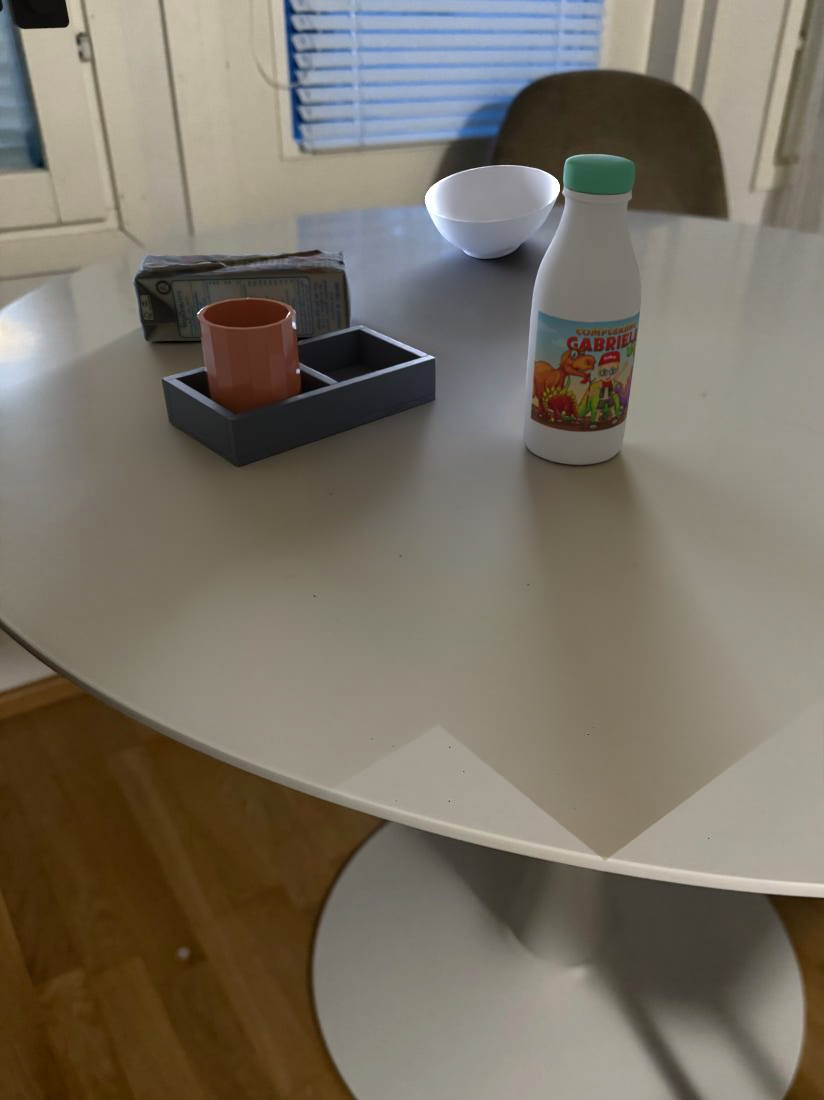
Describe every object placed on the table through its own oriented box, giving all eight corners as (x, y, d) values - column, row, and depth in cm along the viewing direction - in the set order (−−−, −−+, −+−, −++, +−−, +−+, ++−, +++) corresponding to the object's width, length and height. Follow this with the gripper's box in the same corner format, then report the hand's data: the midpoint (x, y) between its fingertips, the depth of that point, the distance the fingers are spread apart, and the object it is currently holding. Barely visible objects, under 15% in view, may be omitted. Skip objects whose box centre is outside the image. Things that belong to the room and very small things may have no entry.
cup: (196, 413, 74) (180, 310, 69) (270, 391, 78) (260, 291, 73) (244, 443, 70) (230, 336, 65) (320, 418, 74) (312, 315, 69)
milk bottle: (501, 439, 74) (516, 154, 62) (572, 415, 78) (599, 143, 66) (571, 477, 69) (601, 177, 57) (643, 449, 73) (685, 164, 61)
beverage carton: (153, 315, 93) (141, 245, 89) (351, 313, 96) (348, 244, 92) (142, 345, 87) (129, 270, 83) (354, 341, 90) (351, 269, 86)
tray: (168, 422, 74) (161, 377, 72) (362, 364, 85) (360, 324, 83) (237, 467, 69) (231, 420, 67) (435, 399, 79) (435, 357, 77)
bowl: (461, 210, 130) (462, 161, 127) (570, 220, 128) (574, 170, 124) (399, 272, 107) (398, 215, 103) (530, 286, 105) (534, 228, 101)
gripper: (-208, -369, 52) (-104, 8, 62) (-97, -419, 42) (5, 37, 53) (-64, -343, 56) (12, 6, 66) (68, -384, 46) (132, 32, 57)
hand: (8, 19), depth 59 cm, fingers open, 9 cm apart
